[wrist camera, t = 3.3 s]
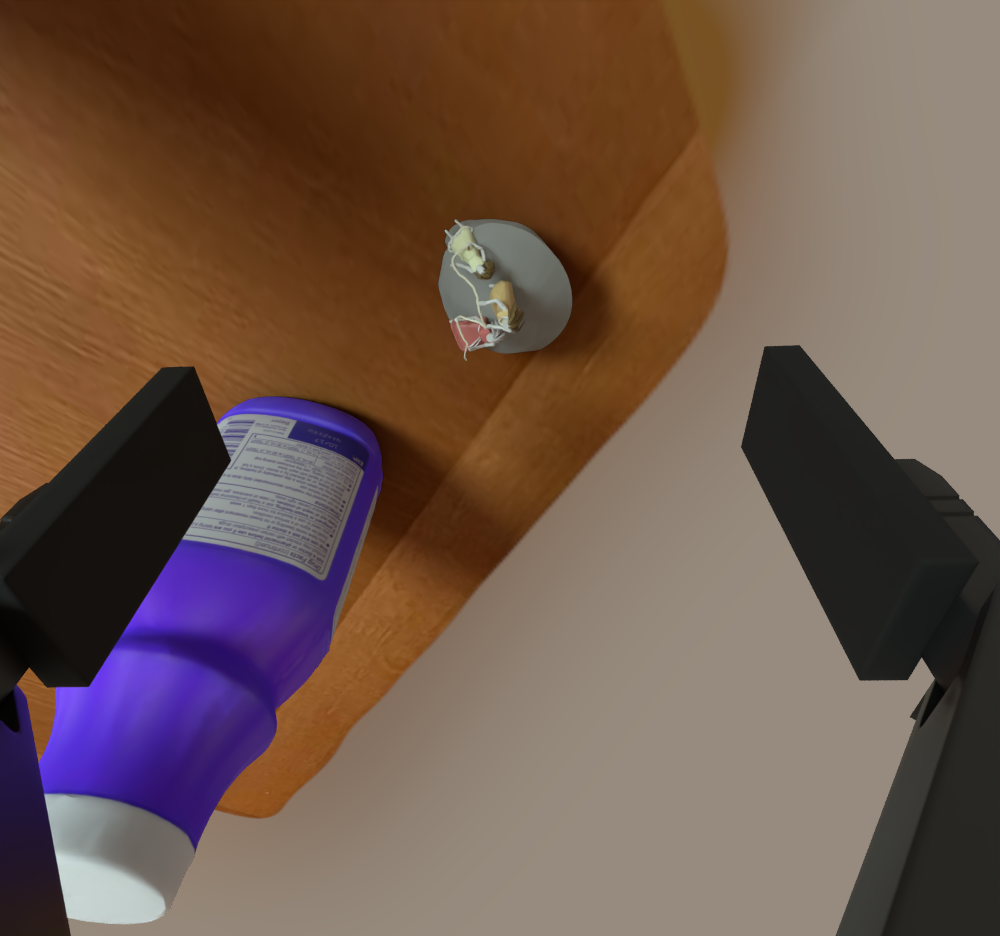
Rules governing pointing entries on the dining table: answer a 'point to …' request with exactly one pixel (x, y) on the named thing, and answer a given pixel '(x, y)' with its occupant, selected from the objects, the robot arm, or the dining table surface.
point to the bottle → (208, 657)
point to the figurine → (502, 287)
